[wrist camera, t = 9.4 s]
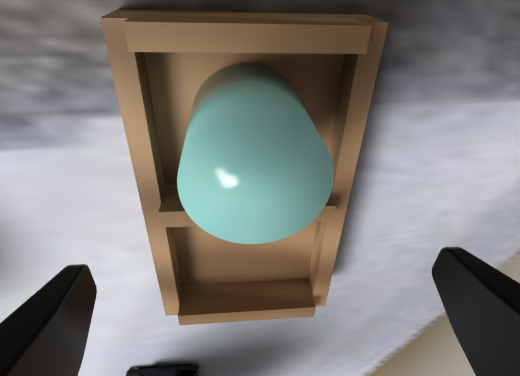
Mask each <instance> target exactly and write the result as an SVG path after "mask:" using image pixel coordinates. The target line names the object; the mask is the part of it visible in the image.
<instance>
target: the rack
mask: <svg viewBox="0 0 520 376" xmlns="http://www.w3.org/2000/svg"><path fill="white" fill-rule="evenodd" d="M100 19H101V24H102V28H103V33H104V37H105V42H106V46H107V51H108V55H109V60H110V64H111V69H112V74H113V78H114V83H115V87H116V92H117V96H118V101H119V105H120V110H121V114H122V119H123V123H124V128H125V133H126V137H127V142H128V146H129V151H130V155H131V160H132V164H133V169H134V173H135V178H136V182H137V187H138V192H139V196H140V201H141V205H142V210H143V214H144V219H145V223H146V228H147V232H148V237H149V241H150V246H151V250H152V255H153V260H154V264H155V269H156V273H157V278H158V282H159V287H160V291H161V296H162V300H163V305H164V309H165V314H166V315H178V319H179V324H180V325H190V324H205V323H220V322H235V321H250V320H265V319H280V318H295V317H310V316H314V313H315V308H316V307H315V306H322V305H325V304H326V299H327V295H328V290H329V286H330V281H331V277H332V273H333V268H334V264H335V259H336V255H337V250H338V246H339V241H340V237H341V233H342V228H343V224H344V219H345V215H346V210H347V206H348V201H349V197H350V192H351V188H352V184H353V179H354V175H355V170H356V166H357V161H358V157H359V152H360V148H361V144H362V139H363V135H364V130H365V126H366V121H367V117H368V112H369V108H370V103H371V99H372V95H373V90H374V86H375V81H376V77H377V72H378V68H379V63H380V59H381V54H382V50H383V46H384V41H385V37H386V32H387V28H388V22H385V21H383V20H380V19H377V18H375V17H372V16H369V15H363V14H312V13H261V12H210V11H160V10H116V11H113V12H111V13H109V14H107V15H105V16H103V17H101V18H100ZM241 63H252V64H259V65H263V66H266V67H269V68H271V69H273V70H275V71H277V72H278V73H279V74H281V75H282V76H283V77H284V78H285V79H286V80H287V81H288V82H289V83H290V84H291V85H292V87H293V88H294V90H295V92H296V94H297V95H298V97H299V99H300V101H301V103H302V104H303V106H304V108H305V110H306V111H307V113H308V115H309V117H310V118H311V120H312V122H313V124H314V126H315V127H316V129H317V131H318V133H319V134H320V136H321V138H322V140H323V141H324V143H325V145H326V147H327V149H328V150H329V153H330V155H331V158H332V162H333V166H334V183H333V188H332V192H331V194H330V197H329V199H328V201H327V203H326V205H325V207H324V208H323V210H322V211H321V212H320V213H319V215H318V216H317V217H316V218H315V219H314V220H313V221H312V222H311V223H310V224H308V225H307V226H306V227H304V228H303V229H301V230H300V231H298V232H297V233H295V234H293V235H291V236H288V237H286V238H283V239H280V240H277V241H274V242H268V243H262V244H241V243H234V242H229V241H226V240H223V239H220V238H218V237H215V236H213V235H211V234H209V233H208V232H206V231H204V230H203V229H202V228H200V227H199V226H198V225H197V224H196V223H195V222H194V221H193V220H192V219H191V218H190V217H189V215H188V214H187V213H186V211H185V209H184V207H183V206H182V203H181V200H180V198H179V193H178V188H177V177H178V169H179V165H180V160H181V155H182V151H183V146H184V141H185V137H186V132H187V127H188V122H189V118H190V113H191V108H192V104H193V101H194V98H195V96H196V93H197V91H198V90H199V88H200V87H201V85H202V84H203V83H204V82H205V81H206V80H207V79H208V78H209V77H210V76H211V75H212V74H214V73H215V72H217V71H219V70H221V69H223V68H225V67H228V66H231V65H235V64H241Z"/></svg>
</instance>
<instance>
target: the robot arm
mask: <svg viewBox="0 0 520 376" xmlns="http://www.w3.org/2000/svg"><path fill="white" fill-rule="evenodd" d="M432 276H433V279H434V282H435V285H436V287H437V290H438V292H439V295H440V298H441V300H442V303H443V305H444V308H445V310H446V313H447V316H448V318H449V321H450V323H451V325H452V328H453V330H454V332H455V335H456V337H457V339H458V341H459V343H460V345H461V347H462V349H463V351H464V353H465V355H466V357H467V359H468V361H469V363H470V365H471V367H472V369H473V370H474V373H475V375H476V376H520V283H518V282H516V281H515V280H513V279H512V278H510V277H508V276H507V275H505V274H503V273H502V272H500V271H498V270H497V269H495V268H494V267H492V266H490V265H489V264H487V263H485V262H484V261H482V260H480V259H479V258H477V257H475V256H474V255H472V254H471V253H469V252H467V251H466V250H464V249H462V248H460V247H445V248H443V249H441V251H440V253H439V255H438V257H437V259H436V261H435V263H434V265H433V268H432ZM96 293H97V289H96V285H95V282H94V279H93V277H92V274H91V272H90V269H89V267H88V266H87V265H85V264H78V265H68V266H67V267H65V268H64V269H63V270H61V271H60V272H59V273H58V274H57V275H56V276H55V277H53V278H52V279H51V280H50V281H49V282H48V283H46V284H45V285H44V286H43V287H42V288H41V289H39V290H38V291H37V292H36V293H35V294H34V295H33V296H31V297H30V298H29V299H28V300H27V301H26V302H24V303H23V304H22V305H21V306H20V307H19V308H17V309H16V310H15V311H14V312H13V313H12V314H10V315H9V316H8V317H7V318H6V319H5V320H4V321H2V322H1V323H0V376H78V373H79V369H80V366H81V363H82V359H83V356H84V351H85V347H86V342H87V338H88V333H89V328H90V323H91V318H92V314H93V309H94V304H95V299H96ZM126 376H200V369H199V366H198V365H184V366H171V367H158V368H145V369H132V370H128V371H127V373H126Z"/></svg>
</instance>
